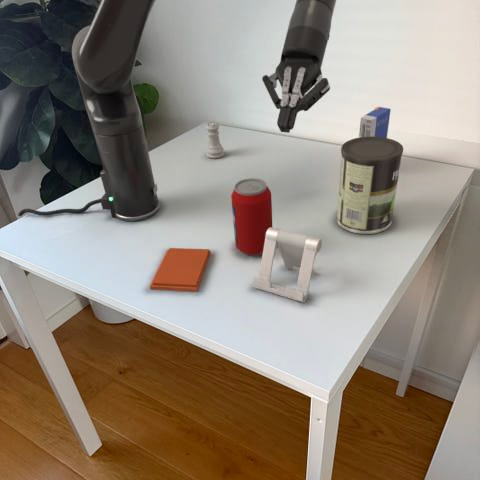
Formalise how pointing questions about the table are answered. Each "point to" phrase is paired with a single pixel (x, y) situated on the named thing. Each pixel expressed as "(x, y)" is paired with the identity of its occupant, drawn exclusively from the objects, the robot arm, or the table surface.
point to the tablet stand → (288, 261)
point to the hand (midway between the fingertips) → (284, 130)
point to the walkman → (375, 123)
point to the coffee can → (368, 184)
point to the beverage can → (251, 214)
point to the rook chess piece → (214, 141)
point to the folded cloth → (181, 269)
